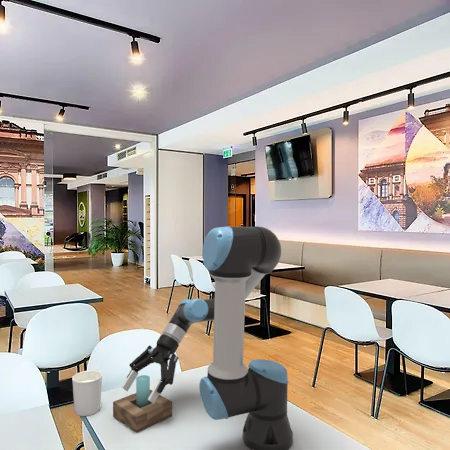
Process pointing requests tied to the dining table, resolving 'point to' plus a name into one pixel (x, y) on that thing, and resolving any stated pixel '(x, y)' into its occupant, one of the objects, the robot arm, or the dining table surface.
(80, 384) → the candle holder
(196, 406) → the dining table surface
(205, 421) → the dining table surface
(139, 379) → the teal peg
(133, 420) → the walnut block
